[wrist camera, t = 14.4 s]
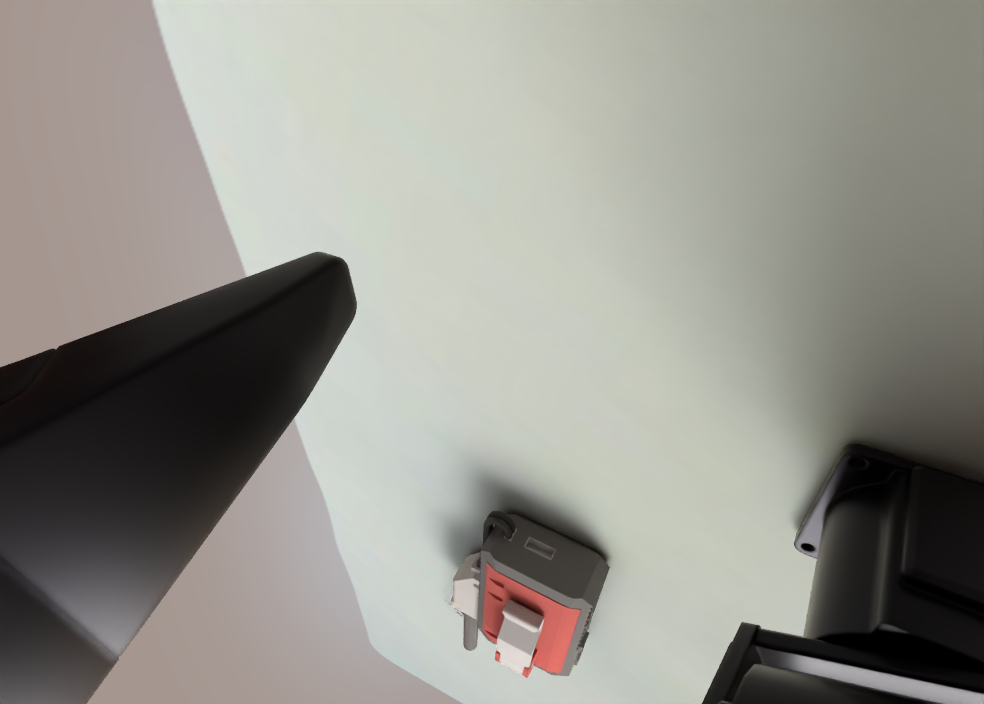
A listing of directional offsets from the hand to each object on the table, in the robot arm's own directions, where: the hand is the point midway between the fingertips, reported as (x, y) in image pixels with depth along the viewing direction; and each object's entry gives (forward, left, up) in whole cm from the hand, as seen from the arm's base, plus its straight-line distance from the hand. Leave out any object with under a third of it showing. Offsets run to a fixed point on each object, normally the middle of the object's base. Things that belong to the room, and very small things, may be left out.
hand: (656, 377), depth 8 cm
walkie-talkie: (-34, +7, -12) cm, 37 cm away
